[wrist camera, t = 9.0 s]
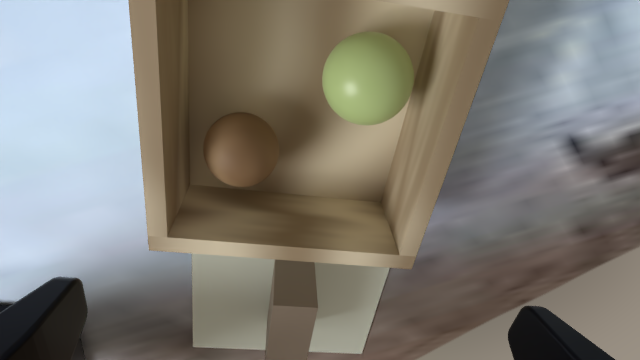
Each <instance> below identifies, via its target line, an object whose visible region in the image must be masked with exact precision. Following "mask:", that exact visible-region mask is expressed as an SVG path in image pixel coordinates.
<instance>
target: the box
mask: <svg viewBox="0 0 640 360" xmlns="http://www.w3.org/2000/svg"><path fill="white" fill-rule="evenodd" d="M508 3H509V0H129V12H130V24H131V37H132V49H133V61H134V73H135V85H136V98H137V110H138V122H139V134H140V146H141V159H142V171H143V183H144V195H145V208H146V220H147V232H148V244H149V250H152V251H165V252H179V253H193V254H207V255H221V256H235V257H248V258H262V259H276V260H290V261H304V262H318V263H331V264H345V265H359V266H373V267H387V268H401V269H412V267H413V264H414V261H415V258H416V256H417V253H418V250H419V247H420V245H421V242H422V239H423V236H424V234H425V231H426V228H427V225H428V223H429V220H430V217H431V214H432V212H433V209H434V206H435V203H436V201H437V198H438V195H439V192H440V190H441V187H442V184H443V181H444V179H445V176H446V173H447V170H448V168H449V165H450V162H451V159H452V157H453V154H454V151H455V148H456V146H457V143H458V140H459V137H460V135H461V132H462V129H463V126H464V124H465V121H466V118H467V115H468V113H469V110H470V107H471V104H472V102H473V99H474V96H475V93H476V91H477V88H478V85H479V82H480V80H481V77H482V74H483V71H484V69H485V66H486V63H487V60H488V58H489V55H490V52H491V49H492V47H493V44H494V41H495V38H496V36H497V33H498V30H499V27H500V25H501V22H502V19H503V16H504V14H505V11H506V8H507V5H508ZM368 31H372V32H379V33H383V34H386V35H388V36H390V37H392V38H393V39H395V40H396V41H398V42H399V43H400V44H401V45H402V46H403V47H404V49H405V50H406V52H407V53H408V55H409V57H410V59H411V62H412V65H413V70H414V84H413V89H412V92H411V95H410V97H409V99H408V101H407V103H406V105H405V106H404V107H403V108H402V110H401V111H400V112H399V113H398V114H396V115H395V116H394V117H393V118H391V119H389V120H387V121H385V122H383V123H380V124H376V125H368V126H366V125H357V124H354V123H351V122H348V121H346V120H344V119H343V118H341V117H340V116H339V115H338V114H337V113H335V112H334V110H333V109H332V108H331V107H330V105H329V104H328V101H327V99H326V97H325V94H324V91H323V86H322V75H323V69H324V65H325V62H326V60H327V58H328V56H329V54H330V53H331V51H332V50H333V49H334V48H335V46H336V45H337V44H338V43H340V42H341V41H342V40H344V39H345V38H347V37H349V36H351V35H353V34H356V33H360V32H368ZM236 112H246V113H251V114H254V115H256V116H259V117H260V118H262V119H263V120H265V121H266V122H267V123H268V124H269V125H270V126H271V127H272V129H273V130H274V132H275V134H276V136H277V139H278V143H279V157H278V161H277V164H276V166H275V168H274V170H273V171H272V173H271V174H270V175H269V176H268V177H267V178H266V179H265V180H263V181H262V182H260V183H258V184H255V185H252V186H248V187H236V186H231V185H228V184H226V183H224V182H222V181H220V180H219V179H218V178H216V177H215V176H214V175H213V174H212V172H211V171H210V170H209V168H208V166H207V164H206V162H205V159H204V154H203V144H204V139H205V136H206V134H207V132H208V130H209V129H210V127H211V126H212V125H213V123H215V122H216V121H217V120H218V119H220V118H221V117H223V116H225V115H228V114H231V113H236Z"/></svg>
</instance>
